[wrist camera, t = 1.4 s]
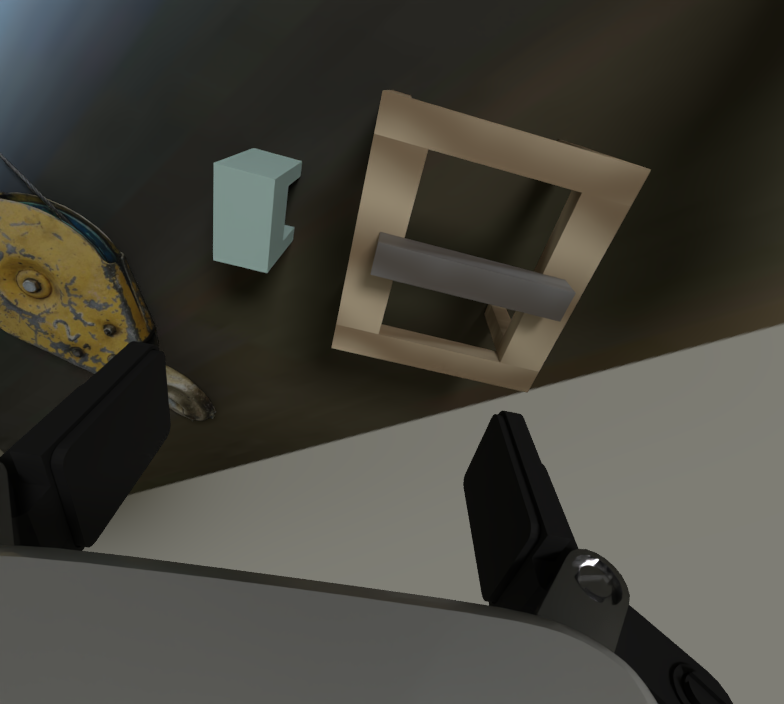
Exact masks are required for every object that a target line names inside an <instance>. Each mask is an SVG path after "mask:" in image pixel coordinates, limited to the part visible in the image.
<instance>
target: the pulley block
mask: <svg viewBox="0 0 784 704" xmlns="http://www.w3.org/2000/svg"><path fill="white" fill-rule="evenodd" d="M0 157H1V158H2V160H3V161H4V162H5V163H6V164H7V165H8V166H9V167H10V168H11V169H12V170H13V171H14V172H15V173H16V174H17V175H18V176H19V177H20V178H21V179H22V180H23V181H24V182H25V183H26V185H27V186H28V187H29V188H30V189H31V191H32V192H33V193H34V194H36V195H37V196H36V195H31V194H24V193H5V192H0V328H1V329H3V330H4V331H6V332H7V333H8V334H10V335H13V336H15V337H17V338H19V339H21V340H23V341H25V342H28V343H30V344H32V345H34V346H36V347H38V348H40V349H43V350H45V351H47V352H49V353H51V354H53V355H55V356H57V357H60V358H62V359H64V360H66V361H68V362H70V363H72V364H74V365H77V366H79V367H81V368H83V369H85V370H88V371H90V372H92V373H94V374H95V373H96V372H98V371H99V370H100V369H101V368H102V367H103V366H104V365H105V364H106V363H108V362H109V361H110V360H111V359H112V358H113V357H114V356H115V355H116V354H118V353H119V352H120V351H121V350H122V349H123V348H124V347H125V346H126V345H127V344H129V343H130V342H132V341H137V342H142V343H147V344H153V345H156V346H157V347H158V338H157V334H156V330H155V325H154V323H153V320H152V318H151V316H150V314H149V311H148V309H147V307H146V305H145V302H144V300H143V298H142V295H141V293H140V291H139V289H138V286H137V284H136V282H135V279H134V277H133V275H132V272H131V270H130V268H129V266H128V263H127V261H126V259H125V256H124V254H123V253H122V252H120V251H119V250H118V249H117V248H116V246H115V245H114V244H113V243H112V242H111V240H110V239H109V238H108V237H107V236H106V235H105V234H104V233H103V232H102V231H101V230H100V229H99V228H98V227H96V226H95V225H94V224H92V223H91V222H90V221H88V220H87V219H86V218H84V217H83V216H81V215H79V214H78V213H76V212H74V211H72V210H71V209H69V208H67V207H65V206H63V205H61V204H58V203H56V202H54V201H51V200H49V199H46V198H45V197H44V196H43V195H42V194H41V193H40V192H39V191H38V190H37V189H36V188H35V187H34V186H33V185H32V184H31V183H30V182H29V181H28V180H27V179H26V178H25V177H24V176H23V175H22V174H21V173H20V172H19V171H18V170H17V169H16V168H15V167H14V166H13V165H12V164H11V163H10V162H9V161H8V160H7V159H6V158H5V157H4V156H3V155H2V154H1V153H0ZM166 375H167V388H168V400H169V407H170V408H171V409H172V410H173V411H175V412H177V413H179V414H181V415H183V416H185V417H187V418H189V419H191V420H192V421H193V420H197V421H204V420H207V419H208V418H211V419H213V418H214V416H215V415H214V414H215V413H216V410H215V408H214V406H213V405H212V403H211V401H210V399H209V398H208V397H207V396H206V394H205V393H204V392H203V391H202V390H201V389H200V388H199V387H197V386H196V385H195V384H194V383H193V382H192V381H191V380H190V379H188V378H187V377H186V376H184V375H183V374H181V373H179V372H178V371H176V370H174V369H172V368H170V367H168V366H167V365H166ZM193 422H194V421H193Z"/></svg>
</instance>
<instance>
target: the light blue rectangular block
mask: <svg viewBox="0 0 784 704" xmlns="http://www.w3.org/2000/svg"><path fill="white" fill-rule="evenodd" d="M301 167H302V161H299V160H295V159H292V158H288V157H284V156H281V155H277V154H273V153H270V152H266V151H262V150H259V149H255V148H253V149H250V150H247V151H244V152H242V153H239V154H236V155H234V156H231V157H228V158H226V159H223V160H220V161H218V162H215V163H214V207H213V260H215V261H219V262H223V263H227V264H231V265H235V266H239V267H244V268H248V269H252V270H256V271H260V272H264V273H268V272H269V270H270V269H271V268H272V266H273V265H274V264H275V263H276V261H277V260H278V259H279V257H280V256H281V255H282V254H283V252H284V251H285V250H286V248H287V247H288V246H289V245H290V243H291V242H292V241H293V236H294V228H295V227H291V226H287V225H285V215H286V205H287V195H288V186H289V185H290V184H291V183H293V182H294V181H295V180H297V179H298V178H299V177H300V176H301Z"/></svg>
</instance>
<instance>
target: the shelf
mask: <svg viewBox="0 0 784 704" xmlns="http://www.w3.org/2000/svg"><path fill="white" fill-rule="evenodd" d="M428 149H430V150H434V151H437V152H441V153H444V154H448V155H451V156H455V157H458V158H462V159H465V160H469V161H472V162H476V163H479V164H483V165H486V166H490V167H493V168H497V169H500V170H504V171H507V172H511V173H514V174H518V175H521V176H525V177H529V178H532V179H536V180H539V181H543V182H546V183H550V184H553V185H557V186H560V187H564V188H567V189H571V190H572V191H571V193H570V195H569V197H568V199H567V202H566V204H565V206H564V208H563V210H562V212H561V214H560V217H559V219H558V221H557V223H556V225H555V227H554V229H553V231H552V234H551V236H550V238H549V240H548V242H547V244H546V246H545V249H544V251H543V253H542V255H541V257H540V259H539V261H538V264H537V266H536V268H535V270H534V271H530V270H526V269H522V268H518V267H514V266H510V265H507V264H503V263H499V262H495V261H491V260H487V259H484V258H480V257H476V256H472V255H468V254H464V253H460V252H457V251H453V250H449V249H445V248H441V247H437V246H433V245H430V244H426V243H422V242H418V241H414V240H410V239H407V238H405V234H406V230H407V226H408V223H409V219H410V215H411V211H412V208H413V204H414V200H415V197H416V193H417V189H418V185H419V182H420V178H421V174H422V171H423V167H424V163H425V159H426V156H427V152H428ZM650 171H651V169H648V168H645V167H642V166H639V165H636V164H633V163H630V162H627V161H624V160H621V159H618V158H615V157H612V156H609V155H606V154H602V153H599V152H596V151H593V150H590V149H587V148H584V147H581V146H578V145H575V144H572V143H569V142H565V141H562V140H559V139H558V141H554V140H551V139H547V138H544V137H541V136H537V135H534V134H531V133H527V132H524V131H520V130H517V129H514V128H510V127H507V126H504V125H500V124H497V123H493V122H490V121H487V120H483V119H480V118H477V117H473V116H470V115H466V114H463V113H460V112H456V111H453V110H450V109H446V108H443V107H439V106H436V105H433V104H429V103H426V102H423V101H419V100H416V99H412V98H411V96H410V95H407V94H404V93H400V92H397V91H394V90H383V92H382V97H381V102H380V107H379V112H378V117H377V122H376V127H375V132H374V137H373V142H372V147H371V152H370V157H369V162H368V167H367V172H366V177H365V182H364V187H363V192H362V197H361V202H360V207H359V212H358V217H357V222H356V227H355V232H354V237H353V243H352V248H351V253H350V258H349V263H348V268H347V273H346V278H345V283H344V288H343V293H342V298H341V303H340V308H339V313H338V318H337V323H336V328H335V333H334V338H333V343H332V348H334V349H338V350H343V351H347V352H351V353H356V354H360V355H365V356H369V357H373V358H378V359H382V360H387V361H391V362H395V363H400V364H404V365H409V366H413V367H417V368H422V369H426V370H431V371H435V372H439V373H444V374H448V375H453V376H457V377H461V378H466V379H470V380H474V381H479V382H483V383H488V384H492V385H496V386H501V387H505V388H510V389H514V390H518V391H523V392H528V391H529V389H530V387H531V385H532V383H533V382H534V380H535V378H536V376H537V374H538V373H539V371H540V369H541V367H542V365H543V364H544V362H545V360H546V358H547V356H548V355H549V353H550V351H551V349H552V347H553V346H554V344H555V342H556V340H557V338H558V337H559V335H560V333H561V331H562V329H563V328H564V326H565V324H566V322H567V320H568V319H569V317H570V315H571V313H572V311H573V310H574V308H575V306H576V304H577V302H578V301H579V299H580V297H581V295H582V293H583V292H584V290H585V288H586V286H587V284H588V283H589V281H590V279H591V277H592V275H593V274H594V272H595V270H596V268H597V266H598V265H599V263H600V261H601V259H602V257H603V256H604V254H605V252H606V250H607V248H608V247H609V245H610V243H611V241H612V239H613V238H614V236H615V234H616V232H617V230H618V229H619V227H620V225H621V223H622V221H623V220H624V218H625V216H626V214H627V212H628V211H629V209H630V207H631V205H632V203H633V202H634V200H635V198H636V196H637V194H638V193H639V191H640V189H641V187H642V185H643V184H644V182H645V180H646V178H647V176H648V175H649V173H650ZM393 280H394V281H398V282H402V283H406V284H410V285H414V286H418V287H422V288H426V289H430V290H434V291H438V292H442V293H446V294H450V295H454V296H458V297H462V298H466V299H470V300H474V301H478V302H482V303H486V304H488V306H487V309H486V311H485V314H484V315H485V318H486V321H487V324H488V327H489V330H490V333H491V336H492V339H493V342H494V345H495V348H496V351H493V350H488V349H484V348H480V347H476V346H471V345H467V344H463V343H459V342H455V341H450V340H446V339H442V338H438V337H433V336H429V335H425V334H421V333H417V332H412V331H408V330H404V329H400V328H395V327H391V326H387V325H383V324H381V323H382V319H383V316H384V312H385V308H386V305H387V301H388V297H389V293H390V290H391V286H392V282H393ZM506 308H507V309H511V310H515V313H514V315H513V317H512V319H510V316H509V314H508V312H507V310H506Z"/></svg>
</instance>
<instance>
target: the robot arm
mask: <svg viewBox="0 0 784 704" xmlns="http://www.w3.org/2000/svg"><path fill="white" fill-rule="evenodd" d="M169 431H170V412H169V400H168V388H167V375H166V363H165V355H164V353H163V352H161V351H159V348H158V347H157V346H156V345H153V344H147V343H142V342H137V341H132V342H130V343H129V344H127V345H126V346H125V347H124V348H123V349H122V350H121V351H120V352H119V353H118V354H116V355H115V356H114V357H113V358H112V359H111V360H110V361H109V362H108V363H106V364H105V365H104V366H103V367H102V368H101V369H100V370H99V371H98V372H96V373H95V374H94V375H93V376H92V377H91V378H90V379H89V380H88V381H87V382H85V383H84V384H82V385H81V386H79V387H78V388H77V389H76V390H74V391H73V392H72V393H71V394H70V395H69V396H68V397H67V398H65V399H64V400H63V401H62V402H61V403H60V404H59V405H58V406H57V407H55V408H54V409H53V410H52V411H51V412H50V413H49V414H48V415H47V416H45V417H44V418H43V419H42V420H41V421H40V422H39V423H38V424H37V425H35V426H34V427H33V428H32V429H31V430H30V431H29V432H28V433H27V434H25V435H24V436H23V437H22V438H21V439H20V440H19V441H18V442H16V443H15V444H14V445H13V446H12V447H11V448H10V449H9V450H8V451H6V452H5V453H4V454H3V455H2V456H1V457H0V704H733V703H732V701H731V700H730V698H729V696H728V694H727V693H726V692H725V690H724V689H723V688H722V686H721V685H720V684H719V682H718V681H717V680H716V679H715V678H714V677H713V676H712V675H711V674H710V673H709V672H708V671H707V670H705V669H704V668H703V667H702V666H700V665H699V664H698V663H697V662H696V661H695V660H694V659H692V658H691V657H690V656H689V655H688V654H687V653H685V652H684V651H683V650H682V649H681V648H679V647H678V646H677V645H676V644H674V642H672V641H671V640H670V639H669V638H668V637H666V636H665V635H664V634H663V633H662V632H661V631H659V630H658V629H657V628H656V627H655V626H653V625H652V624H651V623H650V622H649V621H647V620H646V619H645V618H644V617H643V616H642V615H640V614H639V613H638V612H637V611H636V610H634V609H633V608H632V607H631V606H630V605H629V597H630V595H629V591H628V587H627V585H626V583H625V581H624V579H623V577H622V575H621V574H620V573H619V572H618V571H617V569H616V568H615V567H614V566H613V565H612V564H611V563H610V562H608V561H607V560H606V559H605V558H603V557H602V556H600V555H599V554H597V553H595V552H592V551H589V550H587V549H578V547H577V544H576V542H575V539H574V537H573V534H572V532H571V529H570V527H569V524H568V522H567V519H566V517H565V514H564V512H563V509H562V507H561V504H560V502H559V499H558V497H557V494H556V492H555V489H554V487H553V485H552V482H551V480H550V477H549V475H548V472H547V470H546V468H545V466H544V465H543V464H542V463H541V460H540V458H539V456H538V453H537V450H536V448H535V445H534V443H533V440H532V438H531V435H530V433H529V430H528V428H527V425H526V423H525V420H524V418H523V416H522V415H521V414H517V413H512V412H507V411H501V412H500V413H499V414H498V415H496V414H494V415H493V417H492V418H491V420H490V422H489V425H488V427H487V429H486V431H485V433H484V435H483V437H482V440H481V442H480V444H479V446H478V448H477V450H476V453H475V455H474V457H473V459H472V461H471V463H470V465H469V467H468V469H467V472H466V474H465V477H464V484H463V485H464V492H465V498H466V504H467V510H468V516H469V522H470V528H471V534H472V539H473V545H474V551H475V557H476V563H477V569H478V574H479V581H480V586H481V592H482V597H483V599H484V600H485V601H488V602H489V606H487V605H480V604H475V603H468V602H462V601H456V600H450V599H443V598H436V597H429V596H422V595H415V594H407V593H400V592H393V591H386V590H379V589H372V588H365V587H357V586H350V585H343V584H336V583H328V582H321V581H313V580H306V579H299V578H291V577H284V576H276V575H268V574H261V573H254V572H246V571H239V570H231V569H224V568H216V567H208V566H200V565H193V564H185V563H177V562H170V561H162V560H153V559H146V558H139V557H131V556H122V555H114V554H105V553H94V552H86V551H82V550H83V549H84V547H90V546H92V545H93V544H94V543H95V542H96V541H97V539H98V538H99V536H100V535H101V533H102V532H103V530H104V529H105V527H106V526H107V524H108V523H109V521H110V520H111V519H112V517H113V516H114V514H115V513H116V511H117V510H118V508H119V506H120V505H121V504H122V502H123V501H124V500H125V498H126V497H127V495H128V494H129V492H130V491H131V489H132V488H133V486H134V485H135V484H136V482H137V481H138V479H139V478H140V476H141V475H142V473H143V472H144V470H145V469H146V467H147V466H148V465H149V463H150V462H151V460H152V459H153V457H154V456H155V454H156V453H157V451H158V450H159V448H160V447H161V446H162V444H163V443H164V441H165V440H166V438H167V436H168V434H169Z"/></svg>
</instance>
